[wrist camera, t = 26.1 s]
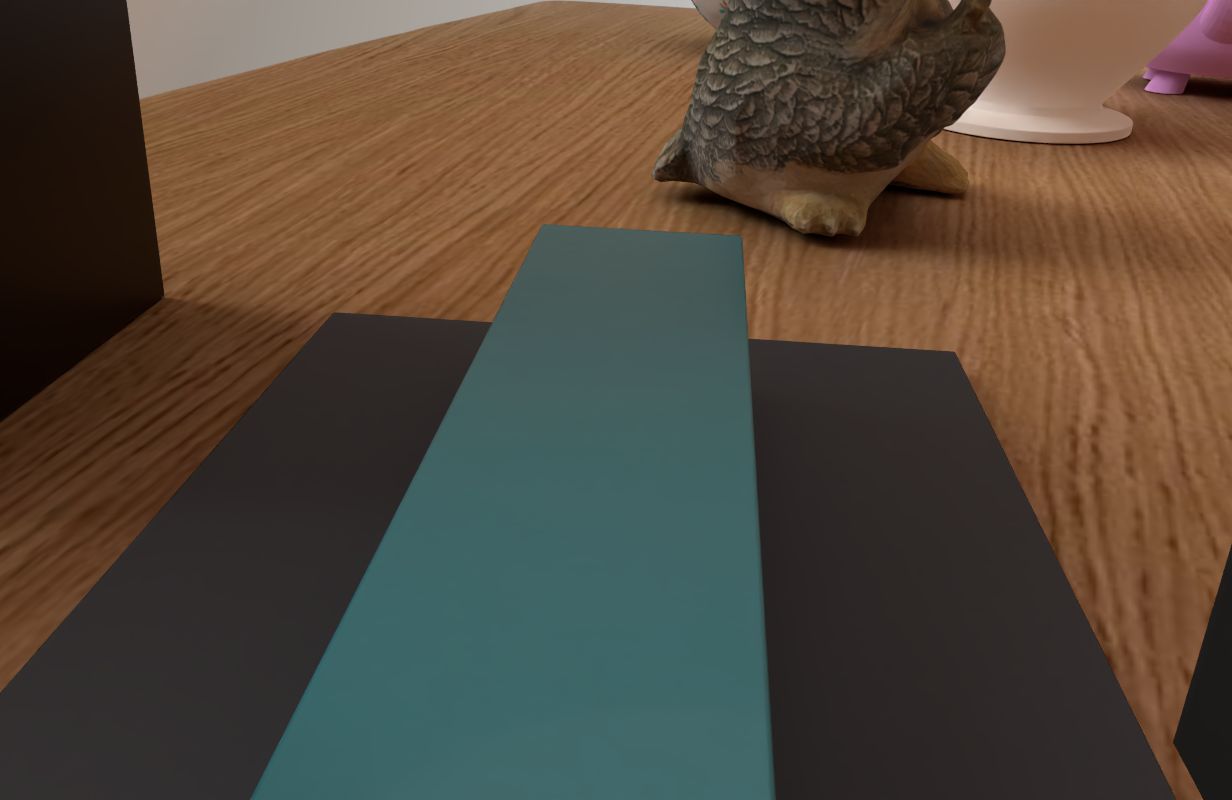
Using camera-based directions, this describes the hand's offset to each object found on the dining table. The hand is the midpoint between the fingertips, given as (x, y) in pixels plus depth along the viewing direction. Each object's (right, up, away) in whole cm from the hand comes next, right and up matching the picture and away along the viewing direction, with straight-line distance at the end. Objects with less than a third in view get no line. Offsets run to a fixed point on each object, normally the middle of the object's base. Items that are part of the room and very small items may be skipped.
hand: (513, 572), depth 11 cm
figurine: (+10, +9, +38) cm, 40 cm away
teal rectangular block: (+3, -1, +9) cm, 9 cm away
